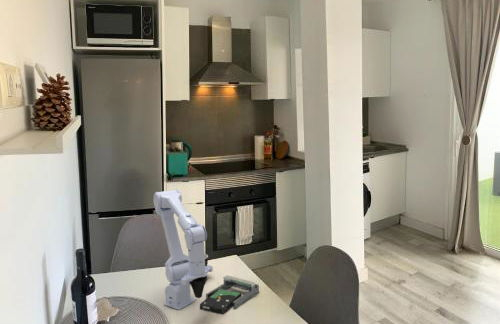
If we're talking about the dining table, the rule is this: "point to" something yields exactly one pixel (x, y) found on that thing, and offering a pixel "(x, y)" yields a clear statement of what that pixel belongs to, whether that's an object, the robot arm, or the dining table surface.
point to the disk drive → (220, 301)
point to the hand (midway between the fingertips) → (198, 296)
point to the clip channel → (238, 283)
